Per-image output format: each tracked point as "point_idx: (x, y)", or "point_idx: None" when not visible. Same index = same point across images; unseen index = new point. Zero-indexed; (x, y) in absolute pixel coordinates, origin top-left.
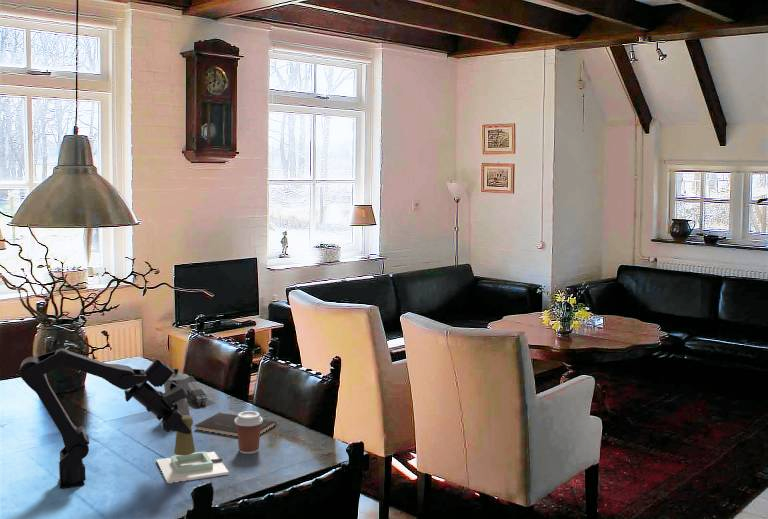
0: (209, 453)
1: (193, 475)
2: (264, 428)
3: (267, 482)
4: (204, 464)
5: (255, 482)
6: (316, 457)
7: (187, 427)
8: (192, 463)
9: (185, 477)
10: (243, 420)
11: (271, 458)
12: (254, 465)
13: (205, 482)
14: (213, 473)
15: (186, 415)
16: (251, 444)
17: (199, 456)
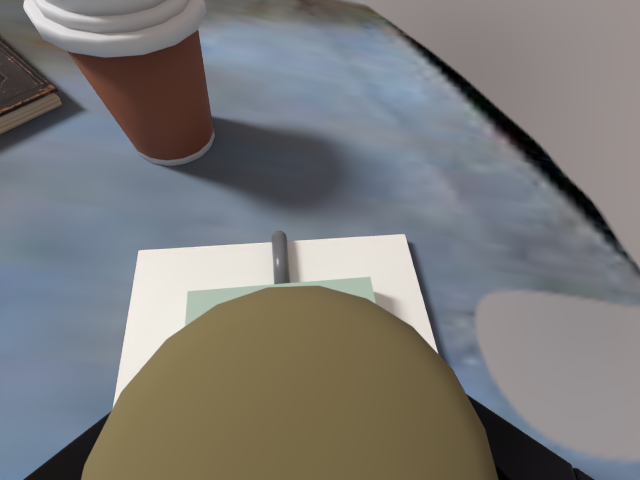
0: (153, 274)
1: None
2: (7, 46)
3: (483, 149)
4: None
5: (482, 176)
6: (318, 22)
7: (491, 415)
8: None
9: None
10: (155, 4)
11: (286, 99)
12: (332, 150)
13: (477, 340)
14: (415, 293)
15: (215, 404)
16: (209, 105)
17: None
